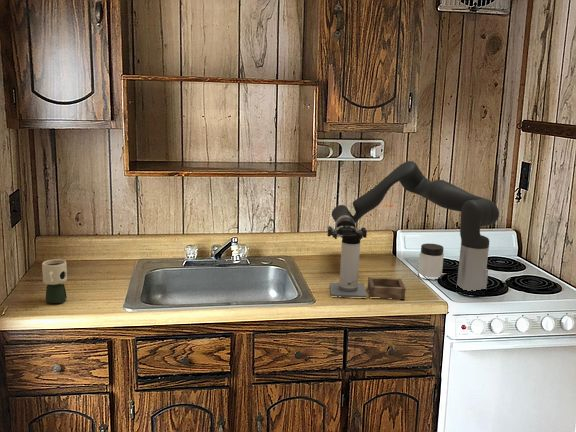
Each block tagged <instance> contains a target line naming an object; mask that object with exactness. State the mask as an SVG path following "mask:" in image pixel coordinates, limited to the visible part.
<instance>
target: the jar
mask: <svg viewBox="0 0 576 432" xmlns="http://www.w3.org/2000/svg"><path fill="white" fill-rule="evenodd" d="M444 255H445V254H444V246H443V245H440V244H437V243H423V244H421V246H420V252H419V257H418V258H419V259H418V269H417V270H418V271H417V274H418V273H420V274H422V275H424V276H427V277H439V276H441V275H442V276H443V265H444V258H445V257H444Z"/></svg>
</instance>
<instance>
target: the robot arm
mask: <svg viewBox="0 0 576 432" xmlns="http://www.w3.org/2000/svg"><path fill="white" fill-rule="evenodd" d="M398 182H399V183H400V184H401V186H402V187H403V188H404V190H406V191H408V192H410V193H412V194H415V195H418V196H421V197H423V198H424V199H426V200H428V201H430V202H431V203H433V204H435V205H437V206H438V207H440V208H442V209H446V210H450V211H456V212H459V213H460V222H459V235H460V248H459V249H460V251H459V260H458V261H459V263H458V271H457V280H456V281H457V282H456V286H457V285H458V286H459V287H460V288H462V289H463V290H467V291H471V290H473V291H476V290H481V289H486V290H487V287H488V286H487V285H488V284H487V283H488V276H489V275H488V274H489V269H488V267H487V266H488V257H489V250H490V238H489V237H487V236H485V235H482V234H481V227H487V226H492V225H493V224H495V223H496V222H497V221H498V220H499V217H500V210H499V208H498V206H497V205H496V203H495V202H493V201H492V200H491V199H489V198H485V197H481V196H478V195H476V194H474V193H473V194H472V193H470V192H468V191H466V190H465V189H463V188H460V187H458V186H456V185H454V184H453V183H450V182H448V181H446V180H444V179H434V180H433V181H432V180H430V179H429V178H426V176H425V175H424V174H423V172H422V170H420V168H419V166H418V164H416V162H415V161H413V160H408V161H405V162H402V163H401V164H399V166H397V167H395V168H394V169H393V171H391V172H390V173H388V174H387V175H386V177H384V178H383V179H382V180H380V182H379V183H377V184H376V185H375V186H374V187H373V188H371V189H370V190H369V191H367V192H365V193H364V194H362V195H361V196H359V197H357V198H356V199H354V200H353V202H352V205H353V208H354V212H355V213H354V214H352V212H351V211H350V210H349V208H348V207H347V206H346V205H345V204H338V205H337V206H335V207H334V208H333V209H332V211H331V217H332V219H333V220H334V222H335V228H334V227H332V225H329V226H327V237H331V236H332V238H334V240H338V238H341V239H342V235H343V234H346V233H360V234H361V236H360V241H361V240H362V239H363V238H365V239H367V236H368V235H367V234H368V230H367V229H366V227H363V226H362V227H361V228H360V229H359V228H357V226H356V223H357V222H358V221H360V219H361V218H362V217H364V215H366V214H367V213H369V212H370V211H373V210H374V209H376V208H378V206H379V205H380V204H381V203H382V202H383V200H384V198H385V196H386V195H387V193H388V192H389V191H390V189H391V187H393V186H394V185H396V184H397V183H398Z"/></svg>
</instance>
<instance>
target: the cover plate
mask: <svg viewBox="0 0 576 432" xmlns="http://www.w3.org/2000/svg"><path fill="white" fill-rule="evenodd" d="M339 284H340V282H329V289H330V290H329V291H330V292H331V294H330V297H331V296H337V297H339V296H341V297H367V298H368V295H367V290H366V286H365V284H364V283H358V288H357V290H356V291H351V292H348V291H343V290H341V289H340V288H339Z"/></svg>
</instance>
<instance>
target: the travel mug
mask: <svg viewBox="0 0 576 432" xmlns="http://www.w3.org/2000/svg"><path fill="white" fill-rule="evenodd" d="M360 236H361V234H360V233H346V234H343V235H342V238H341V246H340V247H341V248H340V249H341V251H340V265H339V268H340V269H339V283H340V284H339V288H340V289H341V290H343V291H348V292H351V291H356V290H357V288H358V284H359V268H360V254H361V253H360V251H361V240H360Z"/></svg>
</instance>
